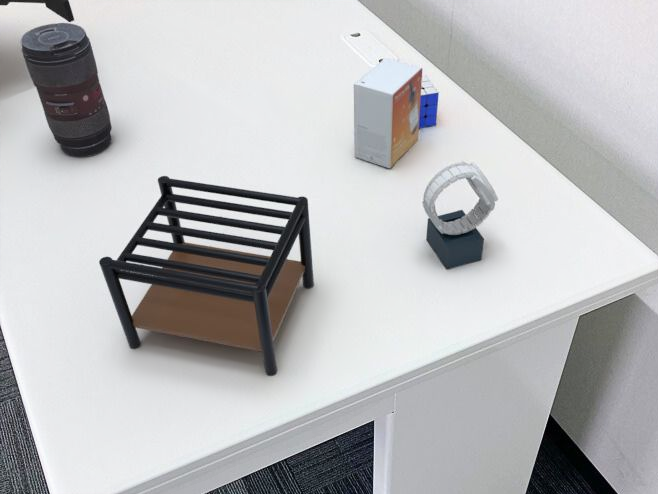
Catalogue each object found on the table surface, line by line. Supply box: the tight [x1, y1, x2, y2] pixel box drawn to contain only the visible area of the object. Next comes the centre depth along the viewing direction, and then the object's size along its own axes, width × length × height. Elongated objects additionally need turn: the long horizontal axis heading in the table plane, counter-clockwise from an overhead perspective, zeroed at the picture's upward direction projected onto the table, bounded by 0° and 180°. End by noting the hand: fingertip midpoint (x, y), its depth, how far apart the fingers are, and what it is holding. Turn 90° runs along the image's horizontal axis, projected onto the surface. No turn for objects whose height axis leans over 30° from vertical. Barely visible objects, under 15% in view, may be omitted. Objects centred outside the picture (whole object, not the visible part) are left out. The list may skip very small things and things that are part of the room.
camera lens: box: [20, 22, 113, 158], centre depth 95 cm, size 8×8×15 cm
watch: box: [421, 161, 499, 270], centre depth 81 cm, size 6×8×11 cm
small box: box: [353, 57, 423, 169], centre depth 95 cm, size 8×6×10 cm
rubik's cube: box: [418, 74, 439, 129], centre depth 102 cm, size 5×5×5 cm
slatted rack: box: [98, 175, 315, 376], centre depth 75 cm, size 16×14×12 cm
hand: (22, 28), depth 96 cm, fingers open, 13 cm apart
